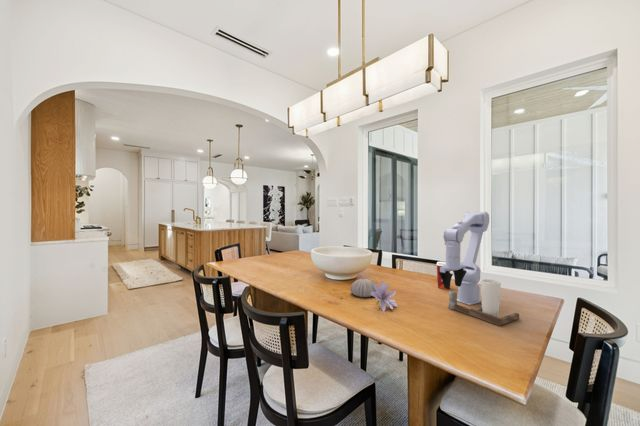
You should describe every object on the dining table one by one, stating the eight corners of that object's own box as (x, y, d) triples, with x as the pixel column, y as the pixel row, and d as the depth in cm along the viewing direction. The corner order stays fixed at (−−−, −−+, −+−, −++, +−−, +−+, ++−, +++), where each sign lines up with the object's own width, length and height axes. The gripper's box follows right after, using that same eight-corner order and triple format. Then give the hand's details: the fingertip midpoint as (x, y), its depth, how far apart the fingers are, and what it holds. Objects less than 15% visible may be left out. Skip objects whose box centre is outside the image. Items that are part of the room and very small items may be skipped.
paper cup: (444, 290, 146) (445, 264, 146) (432, 286, 153) (433, 262, 152) (454, 288, 149) (454, 263, 149) (442, 285, 156) (442, 260, 156)
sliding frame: (467, 302, 127) (468, 287, 127) (519, 319, 108) (520, 301, 108) (447, 307, 120) (447, 291, 120) (498, 326, 101) (499, 307, 101)
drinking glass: (503, 322, 105) (504, 284, 104) (484, 321, 106) (484, 283, 106) (495, 316, 111) (496, 279, 111) (477, 314, 112) (478, 278, 112)
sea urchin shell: (355, 299, 130) (355, 283, 130) (346, 291, 143) (346, 276, 143) (381, 297, 133) (381, 281, 133) (370, 290, 146) (370, 275, 146)
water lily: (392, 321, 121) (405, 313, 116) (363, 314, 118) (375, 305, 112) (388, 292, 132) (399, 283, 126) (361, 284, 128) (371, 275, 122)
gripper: (455, 253, 126) (454, 282, 126) (434, 256, 119) (433, 286, 119) (469, 256, 120) (469, 286, 120) (448, 258, 113) (448, 291, 113)
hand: (452, 287), depth 119 cm, fingers open, 7 cm apart
